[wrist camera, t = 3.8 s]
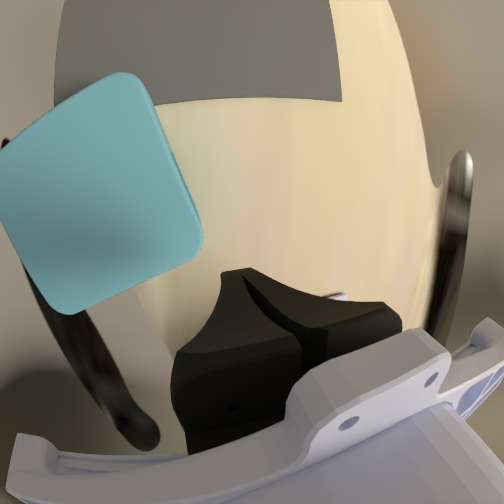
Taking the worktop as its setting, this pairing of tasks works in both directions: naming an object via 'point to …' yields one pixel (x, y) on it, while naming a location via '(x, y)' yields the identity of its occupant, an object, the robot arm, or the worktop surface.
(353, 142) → the worktop surface
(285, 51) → the mat
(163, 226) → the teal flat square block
